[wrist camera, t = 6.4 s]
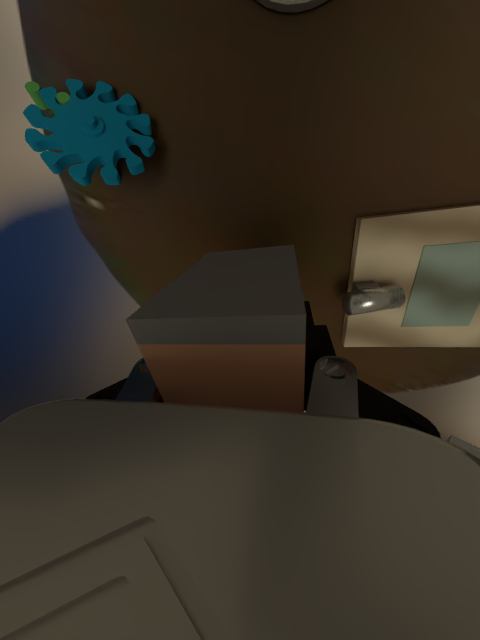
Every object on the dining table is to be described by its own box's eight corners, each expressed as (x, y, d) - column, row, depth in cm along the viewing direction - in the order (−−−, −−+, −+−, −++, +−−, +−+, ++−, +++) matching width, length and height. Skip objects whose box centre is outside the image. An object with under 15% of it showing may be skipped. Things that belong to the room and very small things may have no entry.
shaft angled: (340, 284, 23) (348, 298, 20) (396, 281, 22) (415, 295, 19) (338, 304, 24) (345, 319, 21) (391, 302, 23) (408, 318, 20)
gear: (177, 126, 19) (90, 196, 16) (182, 180, 25) (118, 238, 22) (75, 42, 18) (-30, 101, 16) (104, 117, 24) (30, 169, 22)
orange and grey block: (207, 252, 11) (125, 319, 6) (293, 244, 10) (306, 314, 5) (230, 365, 15) (196, 473, 10) (294, 366, 14) (301, 488, 9)
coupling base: (356, 217, 21) (367, 221, 19) (596, 189, 17) (655, 188, 15) (341, 339, 29) (347, 355, 26) (507, 339, 25) (536, 357, 22)
